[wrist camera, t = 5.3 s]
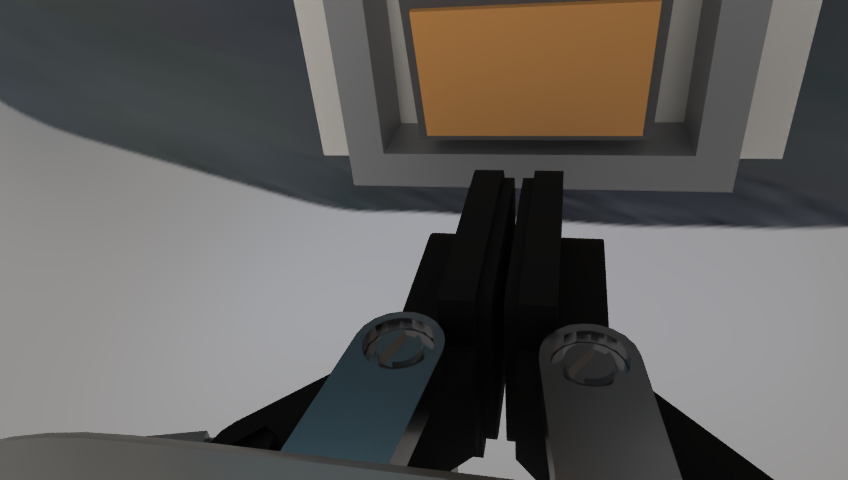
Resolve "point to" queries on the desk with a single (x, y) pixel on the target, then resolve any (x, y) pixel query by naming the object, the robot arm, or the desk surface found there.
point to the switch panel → (579, 159)
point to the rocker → (536, 67)
